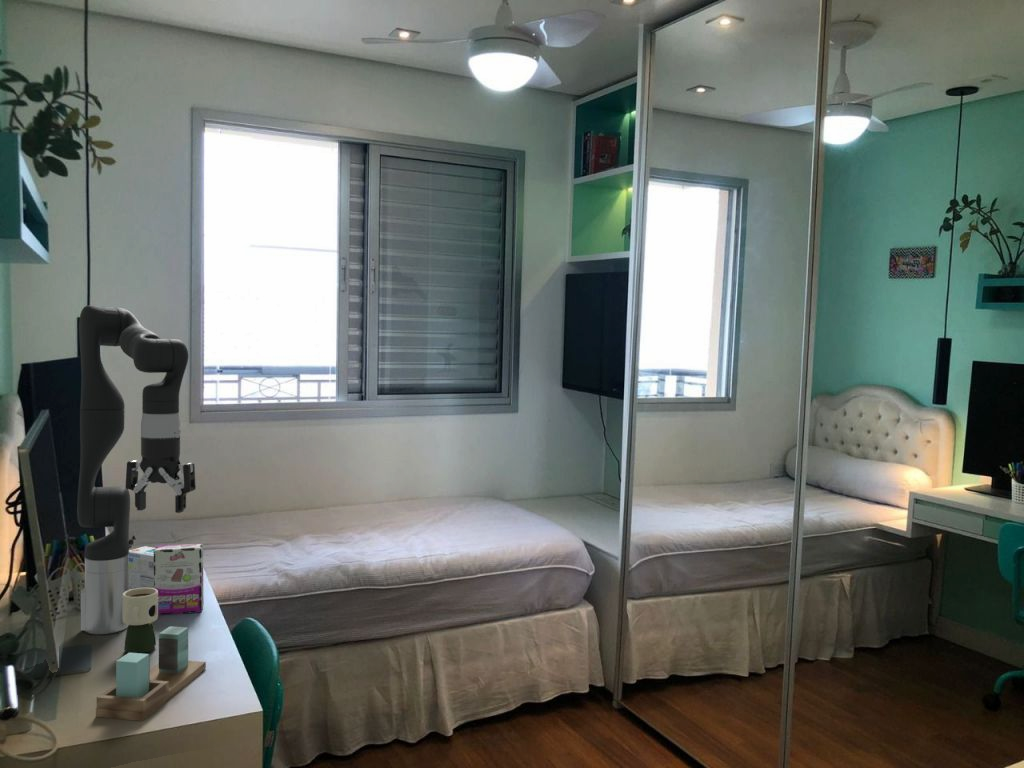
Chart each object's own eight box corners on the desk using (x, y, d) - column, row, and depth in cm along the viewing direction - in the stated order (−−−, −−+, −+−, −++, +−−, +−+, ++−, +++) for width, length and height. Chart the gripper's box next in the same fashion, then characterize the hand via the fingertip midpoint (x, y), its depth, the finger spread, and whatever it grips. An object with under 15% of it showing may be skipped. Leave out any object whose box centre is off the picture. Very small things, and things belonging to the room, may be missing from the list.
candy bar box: (203, 606, 206) (204, 542, 205) (201, 612, 201) (202, 547, 200) (156, 609, 203) (156, 544, 202) (153, 615, 198) (153, 549, 197)
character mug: (152, 659, 172) (152, 599, 172) (116, 661, 171) (116, 601, 170) (162, 640, 183) (162, 583, 182) (128, 642, 181) (128, 585, 181)
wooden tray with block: (95, 716, 147) (95, 665, 146) (164, 665, 169) (165, 621, 169) (142, 720, 145) (142, 669, 145) (205, 669, 168) (205, 624, 168)
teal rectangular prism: (136, 705, 148) (136, 662, 148) (116, 703, 149) (116, 660, 148) (150, 694, 153) (150, 653, 152) (130, 692, 153) (130, 651, 153)
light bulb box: (175, 589, 219) (175, 549, 218) (155, 596, 213) (155, 555, 212) (145, 583, 223) (145, 545, 223) (125, 590, 217) (125, 550, 216)
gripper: (118, 435, 166) (118, 513, 167) (183, 438, 165) (183, 516, 166) (139, 430, 174) (139, 505, 175) (201, 433, 172) (201, 509, 173)
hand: (160, 510), depth 170 cm, fingers open, 8 cm apart
